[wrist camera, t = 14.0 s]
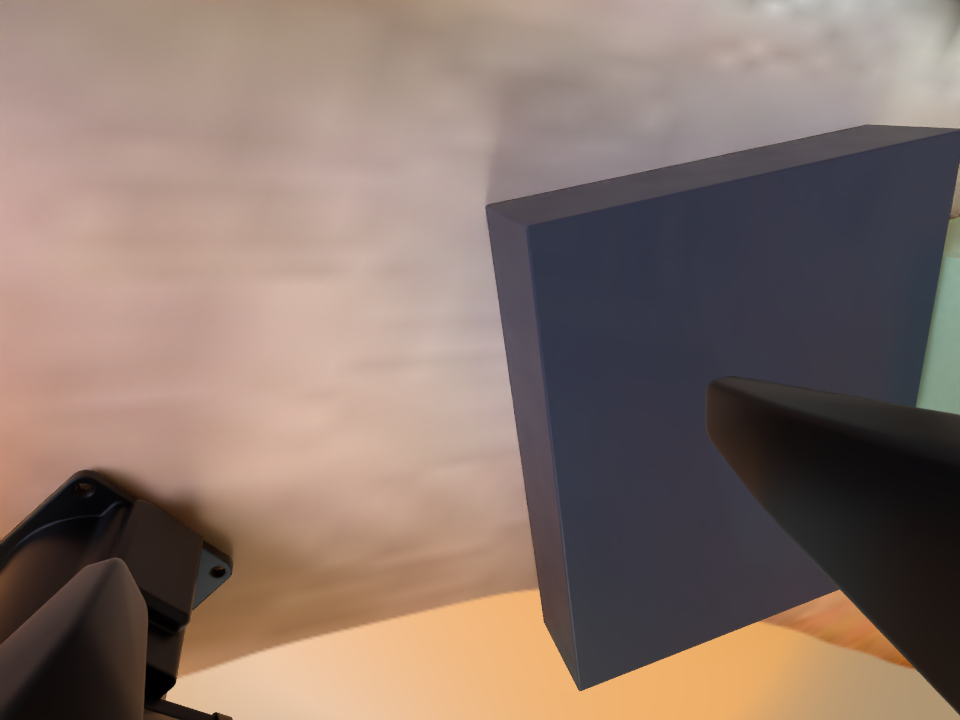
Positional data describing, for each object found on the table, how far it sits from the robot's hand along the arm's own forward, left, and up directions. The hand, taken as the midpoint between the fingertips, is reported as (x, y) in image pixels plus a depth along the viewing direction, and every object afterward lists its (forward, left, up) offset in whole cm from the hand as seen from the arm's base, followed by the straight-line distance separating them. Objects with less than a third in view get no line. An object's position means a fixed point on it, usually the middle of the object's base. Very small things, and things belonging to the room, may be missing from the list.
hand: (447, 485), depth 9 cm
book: (+7, -14, -13) cm, 20 cm away
